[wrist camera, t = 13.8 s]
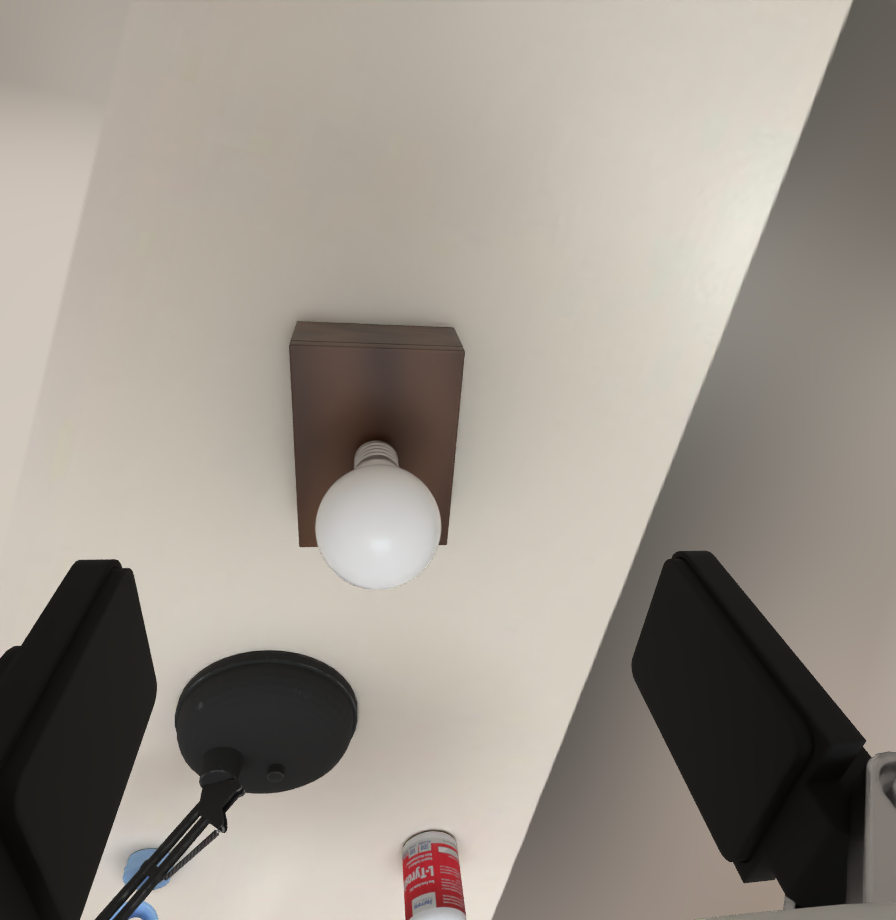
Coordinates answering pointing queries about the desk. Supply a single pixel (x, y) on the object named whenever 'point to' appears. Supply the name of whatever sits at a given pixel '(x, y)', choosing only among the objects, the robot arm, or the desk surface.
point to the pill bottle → (432, 878)
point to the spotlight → (132, 867)
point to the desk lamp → (248, 745)
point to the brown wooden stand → (373, 406)
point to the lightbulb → (378, 522)
